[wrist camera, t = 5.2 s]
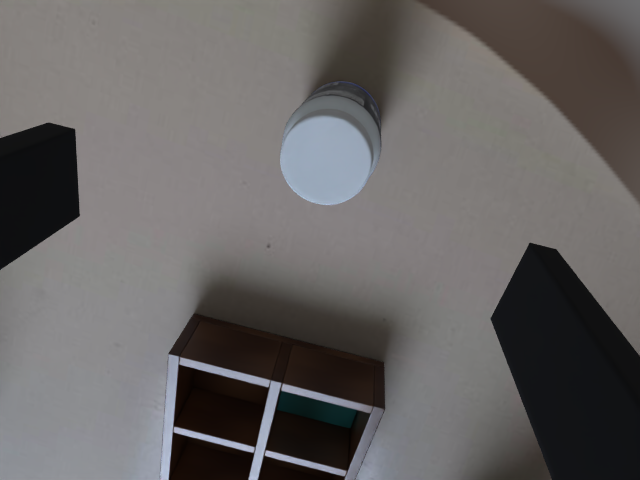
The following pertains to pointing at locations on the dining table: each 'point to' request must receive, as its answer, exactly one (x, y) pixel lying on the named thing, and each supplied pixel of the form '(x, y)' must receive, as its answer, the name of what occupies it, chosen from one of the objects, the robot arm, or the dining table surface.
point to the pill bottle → (332, 143)
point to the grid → (266, 407)
